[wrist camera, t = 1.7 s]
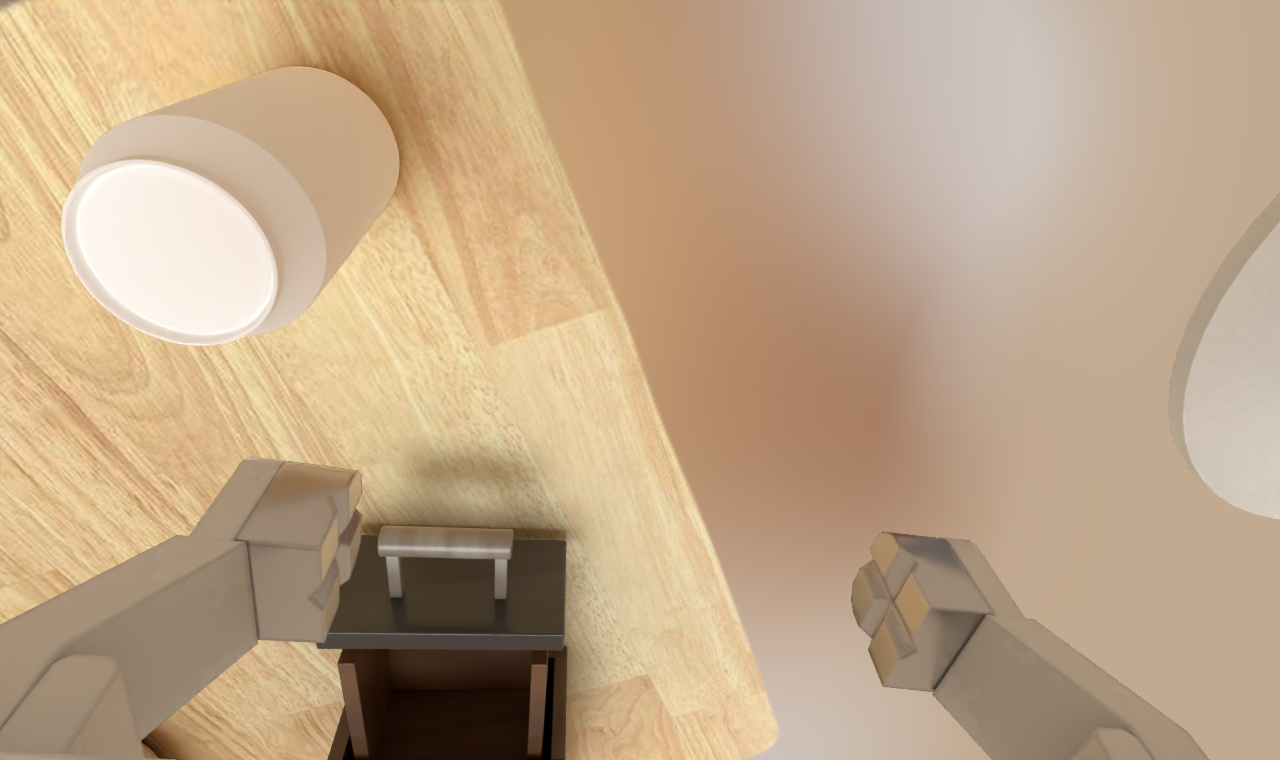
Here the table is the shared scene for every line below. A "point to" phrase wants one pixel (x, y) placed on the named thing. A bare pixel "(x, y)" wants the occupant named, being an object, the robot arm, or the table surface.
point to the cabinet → (553, 717)
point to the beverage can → (230, 205)
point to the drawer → (449, 643)
